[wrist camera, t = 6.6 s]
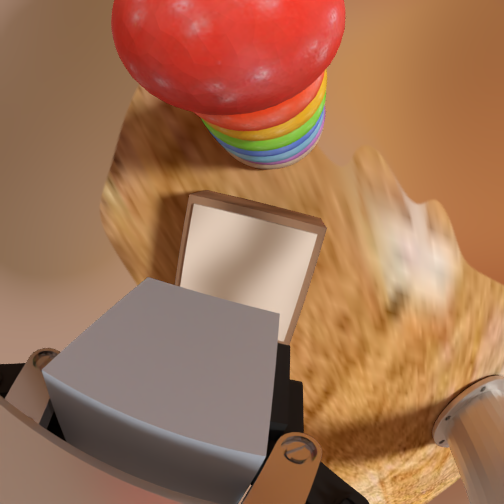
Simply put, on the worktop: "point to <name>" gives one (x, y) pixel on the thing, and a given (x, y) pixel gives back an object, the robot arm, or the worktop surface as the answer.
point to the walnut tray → (249, 254)
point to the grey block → (171, 389)
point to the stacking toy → (237, 67)
